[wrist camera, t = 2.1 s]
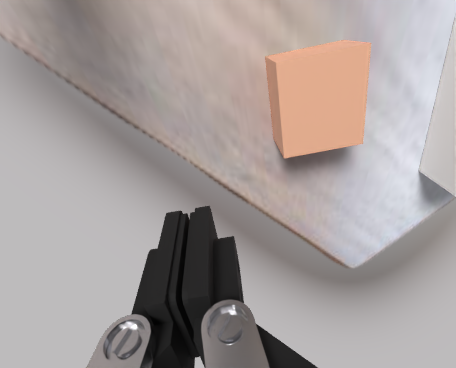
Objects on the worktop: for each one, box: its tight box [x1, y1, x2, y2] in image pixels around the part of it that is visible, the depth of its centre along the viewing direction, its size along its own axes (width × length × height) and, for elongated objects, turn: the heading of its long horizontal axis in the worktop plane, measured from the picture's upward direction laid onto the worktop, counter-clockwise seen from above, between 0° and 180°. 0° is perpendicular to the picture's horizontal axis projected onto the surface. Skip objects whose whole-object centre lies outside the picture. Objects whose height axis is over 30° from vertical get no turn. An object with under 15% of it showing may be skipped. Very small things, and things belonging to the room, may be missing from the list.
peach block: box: [265, 40, 371, 158], centre depth 24 cm, size 7×8×5 cm
